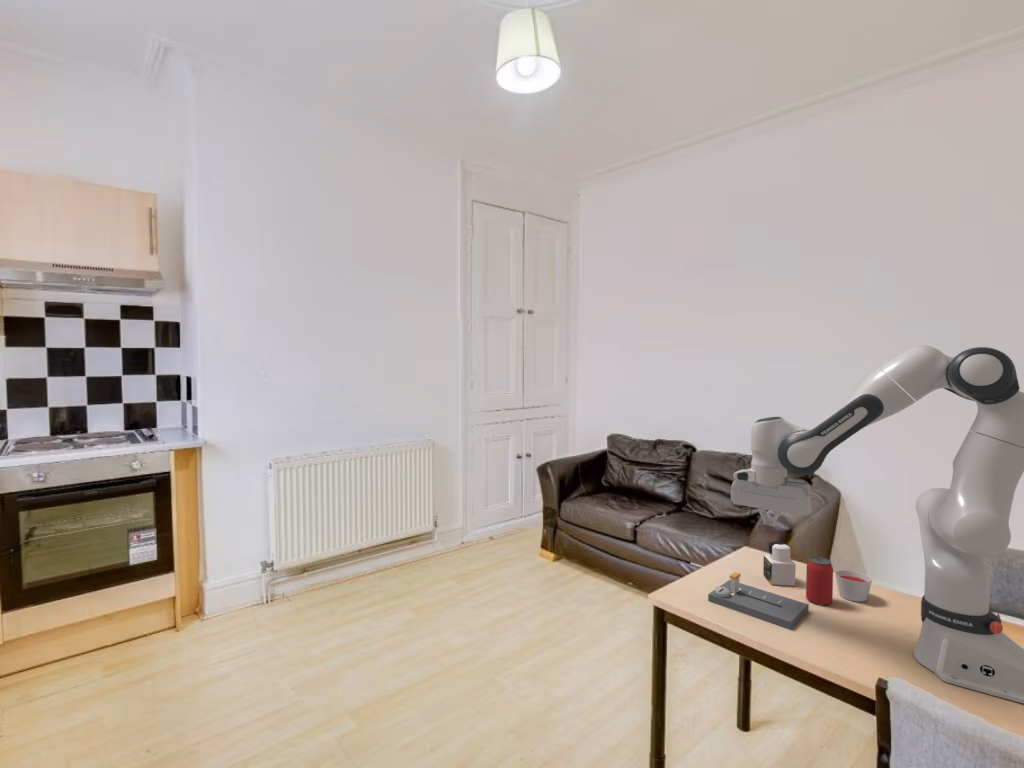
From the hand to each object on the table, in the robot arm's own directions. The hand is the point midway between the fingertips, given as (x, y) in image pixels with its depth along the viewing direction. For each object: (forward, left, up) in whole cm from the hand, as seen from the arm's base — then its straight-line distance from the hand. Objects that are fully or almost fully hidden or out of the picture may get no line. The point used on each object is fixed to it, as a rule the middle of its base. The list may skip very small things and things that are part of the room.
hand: (769, 525), depth 142 cm
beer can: (-8, -16, -24) cm, 30 cm away
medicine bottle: (+5, -22, -24) cm, 33 cm away
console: (+3, 0, -24) cm, 24 cm away
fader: (+9, 0, -22) cm, 24 cm away
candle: (-14, -26, -24) cm, 38 cm away
